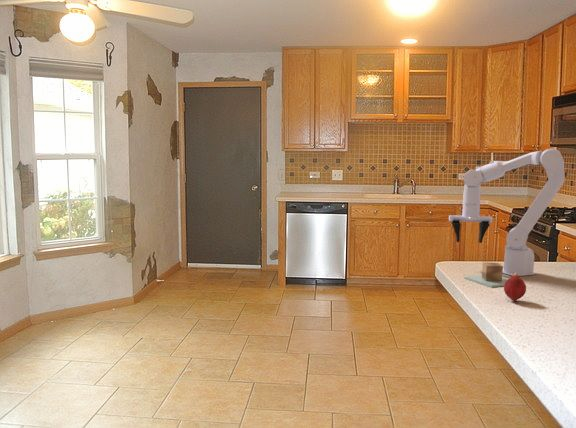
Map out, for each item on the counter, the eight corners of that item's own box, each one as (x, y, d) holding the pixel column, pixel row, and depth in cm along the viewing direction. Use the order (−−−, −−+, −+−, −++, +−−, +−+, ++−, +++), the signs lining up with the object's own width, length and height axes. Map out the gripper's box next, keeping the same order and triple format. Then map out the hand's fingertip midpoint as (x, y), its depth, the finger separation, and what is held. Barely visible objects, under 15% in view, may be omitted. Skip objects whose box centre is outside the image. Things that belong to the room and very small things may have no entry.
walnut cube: (485, 280, 172) (486, 265, 171) (481, 277, 177) (482, 262, 176) (501, 281, 171) (502, 266, 171) (497, 277, 176) (498, 262, 176)
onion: (527, 304, 149) (529, 276, 148) (505, 303, 150) (507, 275, 149) (522, 298, 155) (524, 271, 154) (501, 297, 156) (503, 270, 155)
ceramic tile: (492, 275, 182) (492, 273, 182) (520, 284, 171) (520, 282, 171) (464, 278, 177) (464, 276, 177) (491, 287, 166) (491, 285, 166)
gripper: (452, 204, 186) (449, 243, 188) (495, 205, 185) (493, 244, 186) (448, 202, 193) (446, 239, 195) (490, 203, 192) (487, 241, 193)
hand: (468, 242), depth 191 cm, fingers open, 7 cm apart
